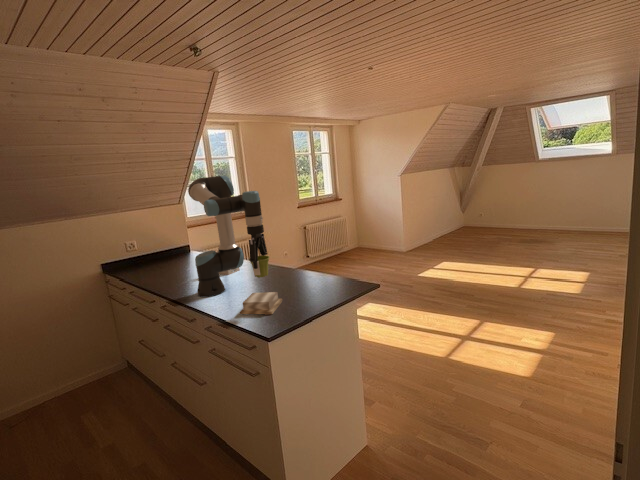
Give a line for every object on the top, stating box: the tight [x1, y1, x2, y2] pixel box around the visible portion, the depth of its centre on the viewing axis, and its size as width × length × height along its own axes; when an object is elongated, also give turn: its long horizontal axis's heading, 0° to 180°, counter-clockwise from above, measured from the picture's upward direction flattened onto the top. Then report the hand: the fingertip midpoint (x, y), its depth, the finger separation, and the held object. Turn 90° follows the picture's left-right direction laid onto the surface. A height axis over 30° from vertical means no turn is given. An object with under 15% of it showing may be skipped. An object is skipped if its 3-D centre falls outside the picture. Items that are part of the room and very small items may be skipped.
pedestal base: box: [239, 291, 283, 315], centre depth 176 cm, size 16×16×6 cm
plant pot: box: [248, 255, 270, 278], centre depth 171 cm, size 9×9×9 cm
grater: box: [217, 244, 240, 276], centre depth 247 cm, size 10×10×20 cm
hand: (261, 271), depth 171 cm, fingers closed on plant pot, 9 cm apart
